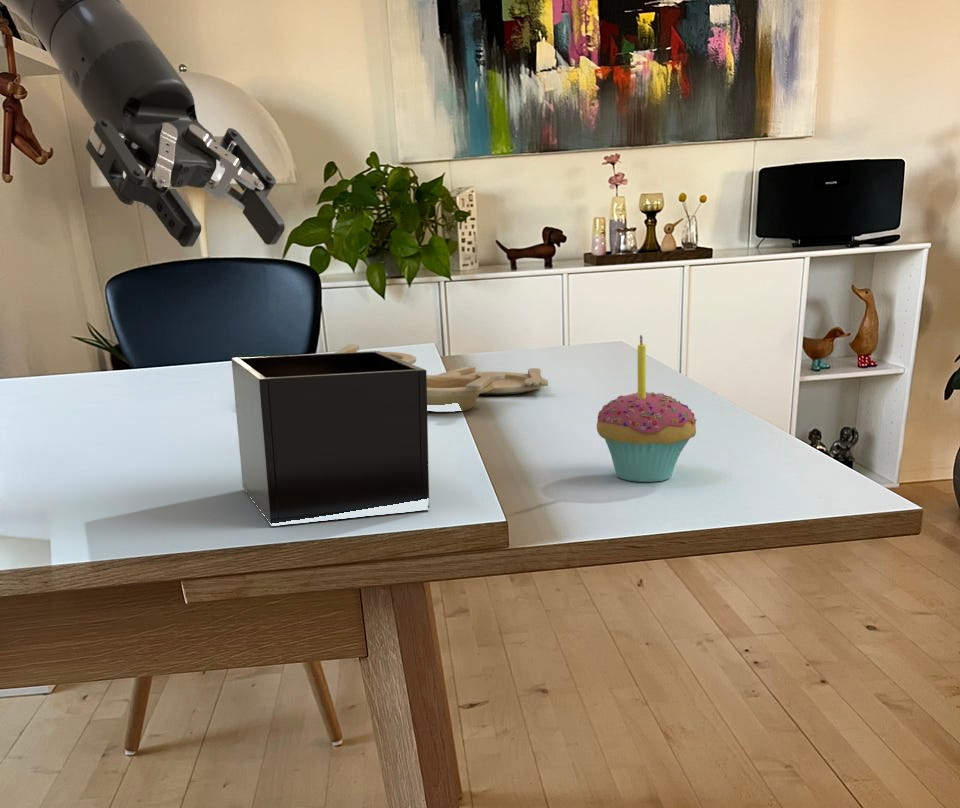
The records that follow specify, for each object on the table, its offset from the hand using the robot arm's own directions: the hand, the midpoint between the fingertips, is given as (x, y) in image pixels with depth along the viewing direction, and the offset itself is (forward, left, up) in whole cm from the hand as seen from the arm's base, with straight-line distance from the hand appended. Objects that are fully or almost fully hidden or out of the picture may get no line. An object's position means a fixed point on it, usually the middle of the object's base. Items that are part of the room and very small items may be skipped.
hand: (237, 237), depth 80 cm
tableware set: (+26, +40, -20) cm, 52 cm away
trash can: (+5, -7, -19) cm, 21 cm away
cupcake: (+32, -9, -20) cm, 38 cm away
